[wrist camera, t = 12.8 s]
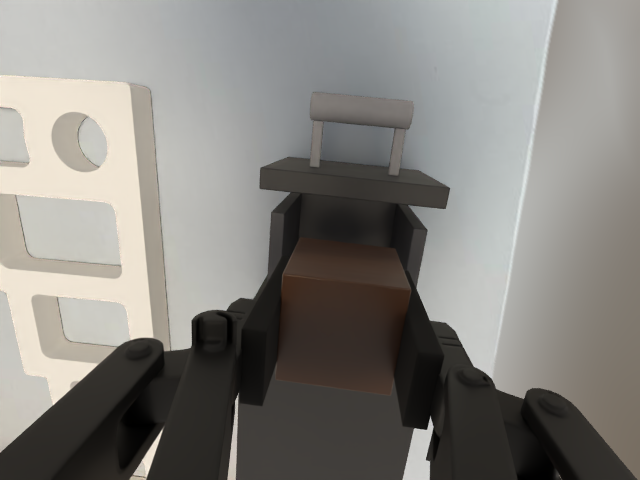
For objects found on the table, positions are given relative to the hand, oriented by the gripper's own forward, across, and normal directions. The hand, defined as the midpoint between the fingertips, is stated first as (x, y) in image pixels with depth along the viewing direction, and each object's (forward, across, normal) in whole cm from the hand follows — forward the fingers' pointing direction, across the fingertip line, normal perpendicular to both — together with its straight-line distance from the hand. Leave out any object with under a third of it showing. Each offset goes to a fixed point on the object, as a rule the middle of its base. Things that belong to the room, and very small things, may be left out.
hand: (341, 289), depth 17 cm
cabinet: (+14, 0, -12) cm, 18 cm away
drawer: (+13, 0, 0) cm, 13 cm away
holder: (+14, -25, -14) cm, 32 cm away
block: (0, 0, 0) cm, 0 cm away
